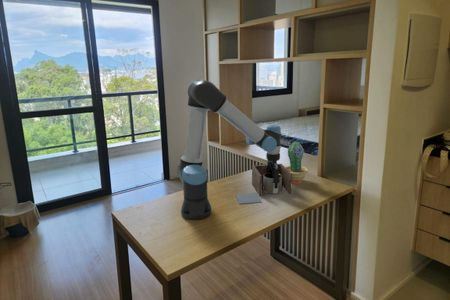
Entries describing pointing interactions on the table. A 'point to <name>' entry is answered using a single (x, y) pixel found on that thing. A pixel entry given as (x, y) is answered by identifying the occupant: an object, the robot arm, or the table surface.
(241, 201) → the mat
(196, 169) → the robot arm
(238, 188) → the table surface
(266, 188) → the planter
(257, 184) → the wooden cubby shelf
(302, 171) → the potted cactus
